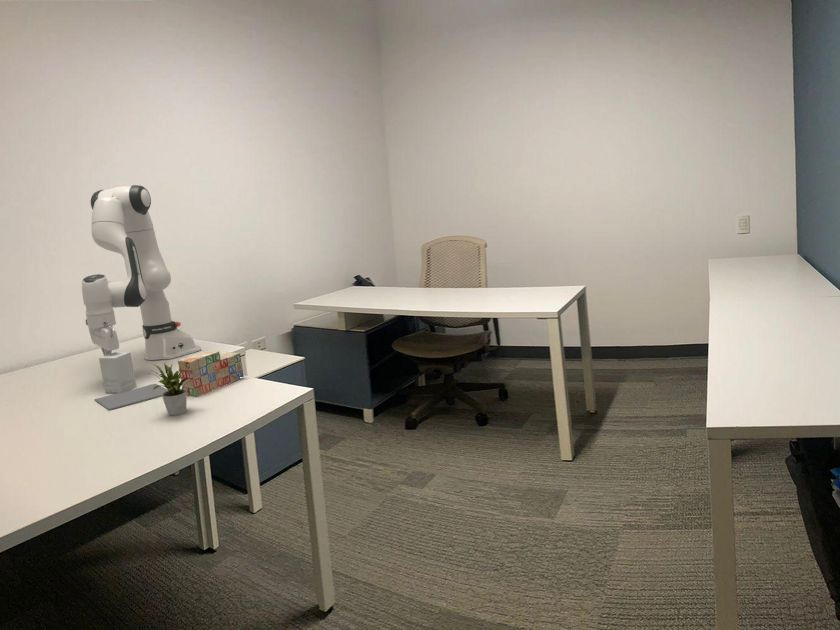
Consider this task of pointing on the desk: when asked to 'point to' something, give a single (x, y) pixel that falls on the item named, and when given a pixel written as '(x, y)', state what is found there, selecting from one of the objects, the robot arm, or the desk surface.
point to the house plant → (173, 390)
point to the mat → (131, 397)
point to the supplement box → (117, 372)
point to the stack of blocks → (209, 371)
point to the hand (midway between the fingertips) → (108, 359)
